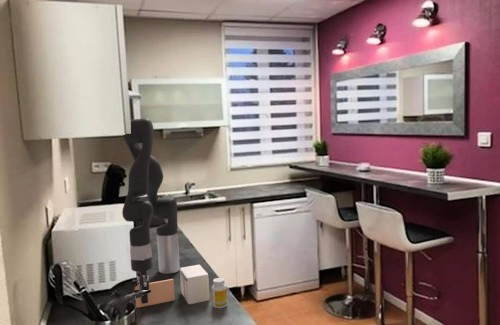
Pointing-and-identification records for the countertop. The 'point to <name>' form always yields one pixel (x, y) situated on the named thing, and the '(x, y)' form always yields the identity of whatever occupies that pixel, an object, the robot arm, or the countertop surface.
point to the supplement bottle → (219, 293)
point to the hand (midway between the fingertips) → (144, 301)
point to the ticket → (158, 293)
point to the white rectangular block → (194, 284)
